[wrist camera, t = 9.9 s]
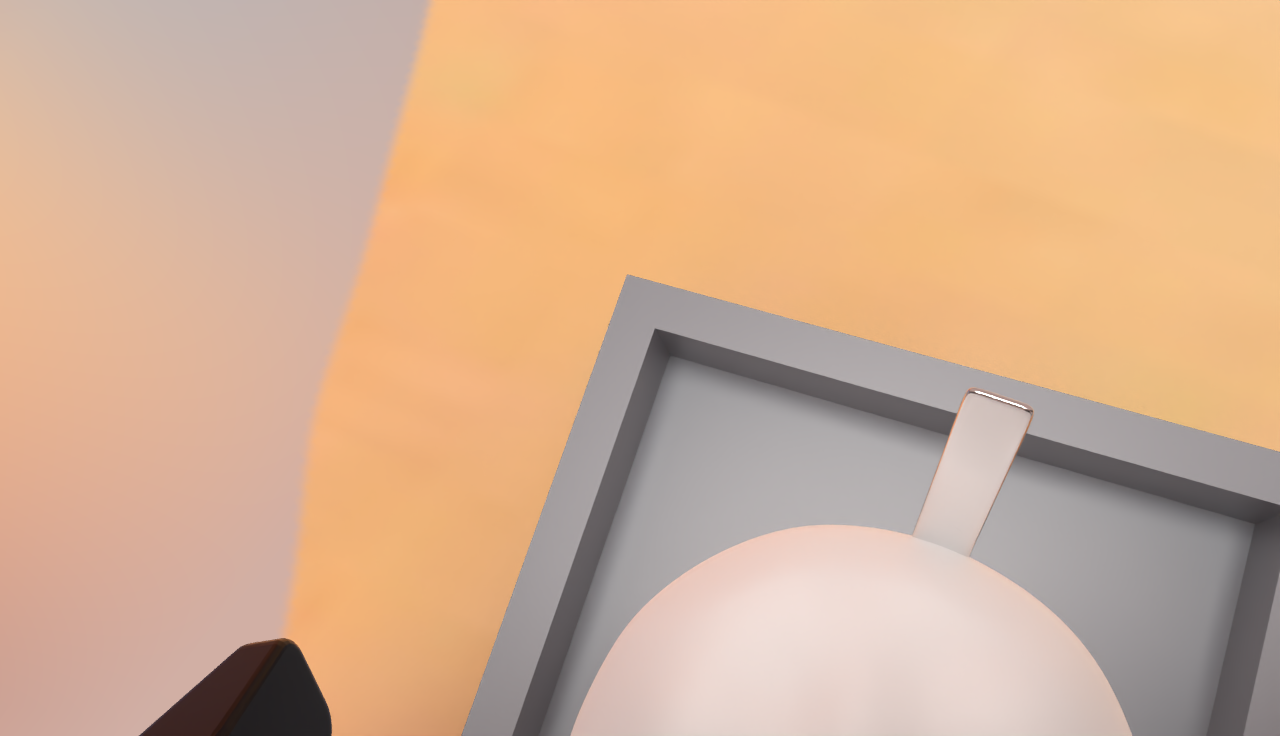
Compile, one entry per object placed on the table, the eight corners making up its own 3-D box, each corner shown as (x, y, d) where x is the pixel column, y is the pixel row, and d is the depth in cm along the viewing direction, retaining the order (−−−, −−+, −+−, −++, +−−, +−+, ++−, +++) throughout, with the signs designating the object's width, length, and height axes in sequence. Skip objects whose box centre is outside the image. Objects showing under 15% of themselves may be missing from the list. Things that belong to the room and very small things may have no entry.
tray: (1136, 1257, 15) (1179, 1343, 13) (429, 938, 17) (377, 970, 15) (1304, 497, 17) (1361, 474, 15) (649, 314, 19) (627, 274, 17)
